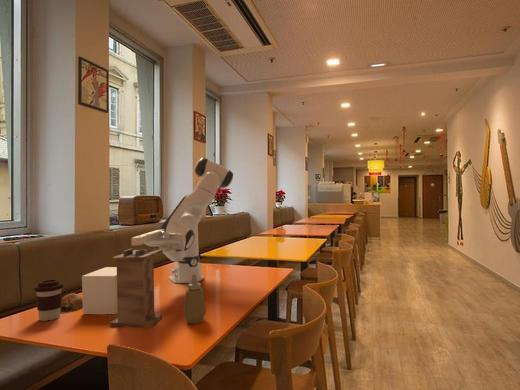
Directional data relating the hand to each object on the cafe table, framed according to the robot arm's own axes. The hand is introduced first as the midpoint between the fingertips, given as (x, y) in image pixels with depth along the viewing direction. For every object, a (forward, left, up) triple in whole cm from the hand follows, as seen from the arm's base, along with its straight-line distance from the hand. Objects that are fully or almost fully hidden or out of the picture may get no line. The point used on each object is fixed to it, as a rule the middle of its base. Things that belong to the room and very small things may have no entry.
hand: (157, 232), depth 157 cm
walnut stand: (+15, -14, -32) cm, 38 cm away
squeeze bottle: (+32, +1, -32) cm, 45 cm away
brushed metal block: (+6, -6, -2) cm, 9 cm away
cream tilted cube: (-9, -19, -32) cm, 38 cm away
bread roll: (-21, -32, -32) cm, 50 cm away
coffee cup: (-12, -41, -32) cm, 54 cm away
